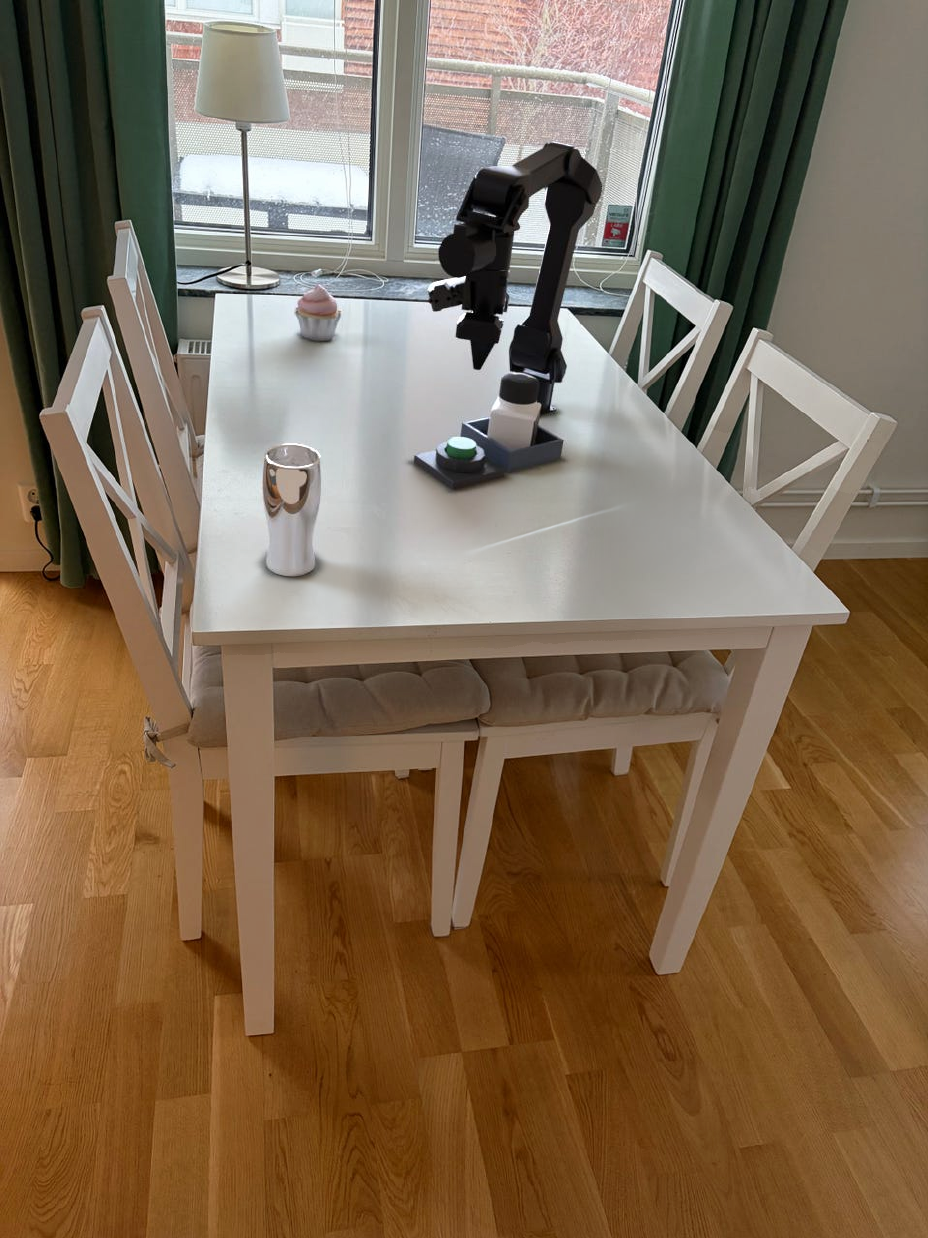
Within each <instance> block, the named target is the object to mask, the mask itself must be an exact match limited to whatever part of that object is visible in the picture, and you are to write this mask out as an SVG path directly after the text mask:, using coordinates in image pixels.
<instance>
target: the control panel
mask: <svg viewBox="0 0 928 1238" xmlns="http://www.w3.org/2000/svg"><path fill="white" fill-rule="evenodd" d="M446 450H447V441H445V442H444V441H443V442H441V443H440V444H438V446H436V449H434V450H429V451H425V452H421V453H420V452H419V453H416V454H414V455H413V464H415V465H416V466H417V467H419V468H420V469H421V470H423V471H424V472H426V473H427V474H429V475H430V476H432V477H433V478H434V479H436V480H437V481H439V482H440V483H441V484H443V485H445V487H447V488H449V489H450V490H451V491H454V490H458V489H462V488H466V487H471V486H475V485H478V484H481V483H485V482H490V481H493V480H498V479H501V478H505V474H506V473H505V472H506V471H505V469H504V468H503V467H501V466H499V465H498V464H496V463H495V462H493V461H492V460H490V459H489V458H487V457H486V456H485V453H484V450H483V449H482V448H480V447H479V446H477V445H476V451H475V456H474V457H472V458H468V459H465V458H456V457H452V456H450V455H448V454H447V453H446Z"/></svg>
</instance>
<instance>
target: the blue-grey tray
mask: <svg viewBox="0 0 928 1238" xmlns="http://www.w3.org/2000/svg"><path fill="white" fill-rule="evenodd" d="M489 420H490V416H486V417H482V418H477V419H472V420H468V421H463V422H461V429H460V437H465V438H469V439H471V440H473V441H474V442H475V443H476V445H477V446H479V447H480V448H482V449H483V450H484V453H485V456H486V457H487V458H489V459H490V460H492V461H493V462H495V463H496V464H498V465H499V466H501V467H503V468H504V469H505V472H506V474H507V473H508V474H509V473H512V472H516V471H521V470H524V469H528V468H531V467H536V466H539V465H540V466H541V465H543V464H549V463H552V462H555V461H559V460H561V459H562V453H563V447H564V441H565V440H564V439H563V438H561V437H559V436H557V435H556V434H554V433H553V432H551V431H549V430H548V429H545V428H544V427H542V426H541V425H539V424H538V429H537V435H536V441H535V444H534V446H530V447H525V448H521V449H517V450H513V451H510V450H509V449H507V448H505V447H504V446H502V445H501V444H499V443H497V442H496V441H494V440H493V439H491V438H490V437H488V436H487V434H488V427H489Z"/></svg>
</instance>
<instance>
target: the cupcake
mask: <svg viewBox="0 0 928 1238" xmlns="http://www.w3.org/2000/svg"><path fill="white" fill-rule="evenodd" d="M338 308H339V306H338V302H337V300H336V298H335V297H334V296H332V294H330V293H329V291H327V289H326V288H324V287H323V286H321V285H320V284H318V283H316V285H315V287H314V289H311V290H308V291H307V292H305V293H304V294H303V295H302V297H300V298H299V299H298V300H297V306H296V307H294V311H293V313H294V316H295V317H296V319H297V321H298V325H299V331H300V335H301V336H302V337H303V338H305V339H307V340H311V341H316V342H323V341H330V340H332V339H333V338H334V336H335V335H336V330H337V327H338V323H339V321H340V320H341V317H342V310H340V309H338Z"/></svg>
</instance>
